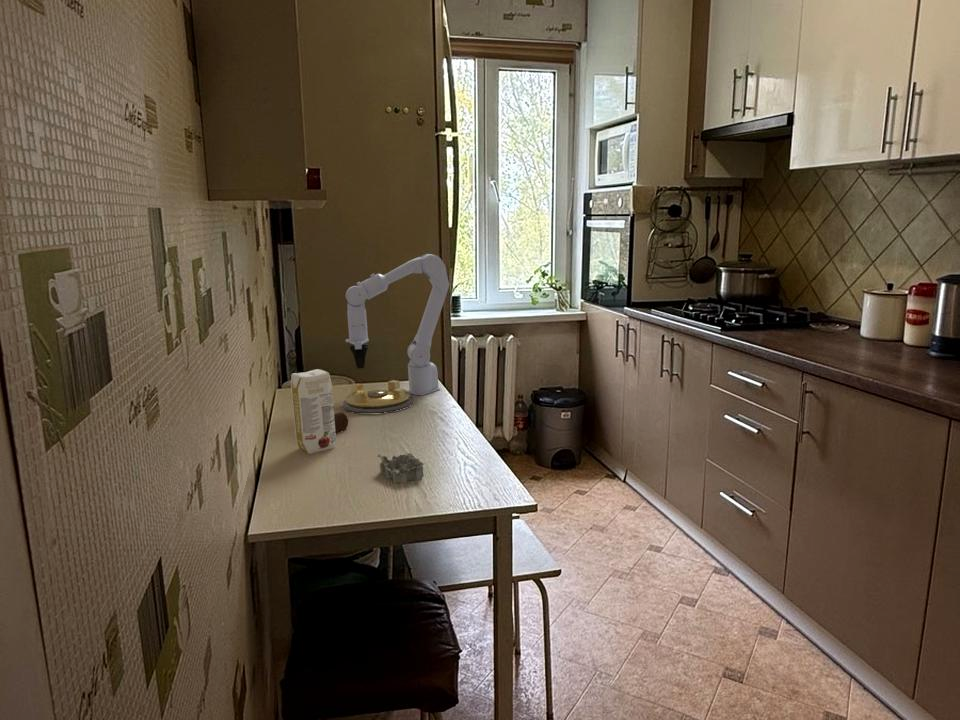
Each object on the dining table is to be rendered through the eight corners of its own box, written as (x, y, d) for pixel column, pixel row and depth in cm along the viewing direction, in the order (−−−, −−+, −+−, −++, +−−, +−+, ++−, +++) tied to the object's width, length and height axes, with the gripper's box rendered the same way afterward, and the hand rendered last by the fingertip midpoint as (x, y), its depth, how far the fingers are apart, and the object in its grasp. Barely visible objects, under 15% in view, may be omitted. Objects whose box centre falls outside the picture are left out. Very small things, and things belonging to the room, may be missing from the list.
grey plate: (378, 392, 216) (378, 388, 216) (427, 400, 204) (427, 396, 203) (328, 408, 200) (328, 403, 199) (378, 418, 187) (377, 413, 187)
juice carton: (339, 447, 163) (333, 372, 159) (307, 456, 158) (300, 378, 154) (325, 440, 169) (319, 367, 165) (293, 448, 164) (286, 373, 160)
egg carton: (377, 471, 147) (375, 453, 147) (408, 464, 151) (407, 447, 150) (394, 486, 138) (393, 468, 137) (427, 479, 142) (426, 461, 141)
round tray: (344, 395, 208) (343, 383, 207) (404, 389, 213) (404, 377, 212) (348, 411, 190) (347, 397, 189) (414, 404, 195) (413, 391, 194)
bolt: (307, 429, 186) (344, 436, 177) (293, 424, 182) (331, 431, 173) (313, 409, 187) (350, 415, 178) (300, 404, 183) (337, 409, 174)
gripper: (345, 322, 213) (348, 364, 216) (343, 329, 199) (346, 373, 202) (368, 321, 214) (370, 362, 217) (367, 327, 200) (370, 372, 203)
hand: (360, 367), depth 209 cm, fingers closed
